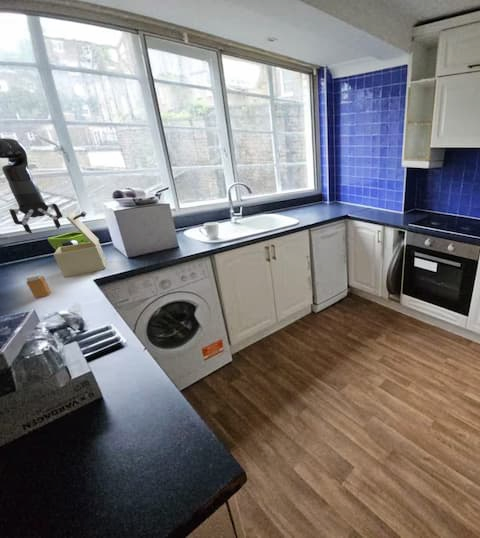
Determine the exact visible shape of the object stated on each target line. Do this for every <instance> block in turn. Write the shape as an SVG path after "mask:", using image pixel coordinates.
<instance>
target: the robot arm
mask: <svg viewBox="0 0 480 538" xmlns="http://www.w3.org/2000/svg"><path fill="white" fill-rule="evenodd" d="M0 159H7V161H8V163H7V164H5V165H3V166H2V167H1V170H2V173H3V174H4V177H5V179H6V181H7V183H8V186H9V189H10V191H11V193H12V195H13V197H14V199H15V201H16V203H17V205H18V208H10V209H8V211H9V214H10V216H11V219H12V221H13V223H14V224H15V225H22V227H23V229H24V231H25V232H26V233H29V234H33V232H32V230H31V228H30V225H29V224H28V222H29V220H30V219H31V218H33V219H34V218H37V217H44V216H47V217H49V218H51V219H52V221H53V224H54V226H55V228H56V229H60V228H61V223H60V220H59V219H61V218H63V214H62V213H61V211H60V208H59V207H58V204H57V203H50V204H46V202H45V200H44V198H43V195H42V193H41V192H40V188H39V186H38V185H37V184H36V181H35V180H34V178H33V176H32V174H31V172H30V170H29V161H28V153H27V150H26V148H25V147H24V145H23V144H22V143H21V142H20V141H19V140H16V139H15V138H11V137H10V138H8V137H6V138H5V137H4V138H3V137H2V138H1V137H0ZM49 208H50V209H51V210H54V212H55V215H53V214H51V213H50V212H48V210H49ZM19 212H20V213H22V214H24V215H23V217H22V220H19V219H18V216H17V215H19Z"/></svg>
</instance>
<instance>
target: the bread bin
mask: <svg viewBox="0 0 480 538" xmlns="http://www.w3.org/2000/svg"><path fill="white" fill-rule="evenodd" d="M103 250H104V249H103V248H102V245H101V244H100V241H98V243H97V246H94V245H93V244H92V243H91V242H88V243H87V242H86V243H82V244H76V245H70V246H64V247H59V248H58V249H57V250H55V252H54V253H53V257H54V259H55V261H56V264H57V265H58V268H59V270H60V272H61V273H62V275H63V278H68V277H69V278H70V277H73V276H78V275H83V274H88V273H93V272H97V271H102V270H106V269H107V263H108V260H107V258H106V255H105V253H104V251H103Z"/></svg>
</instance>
